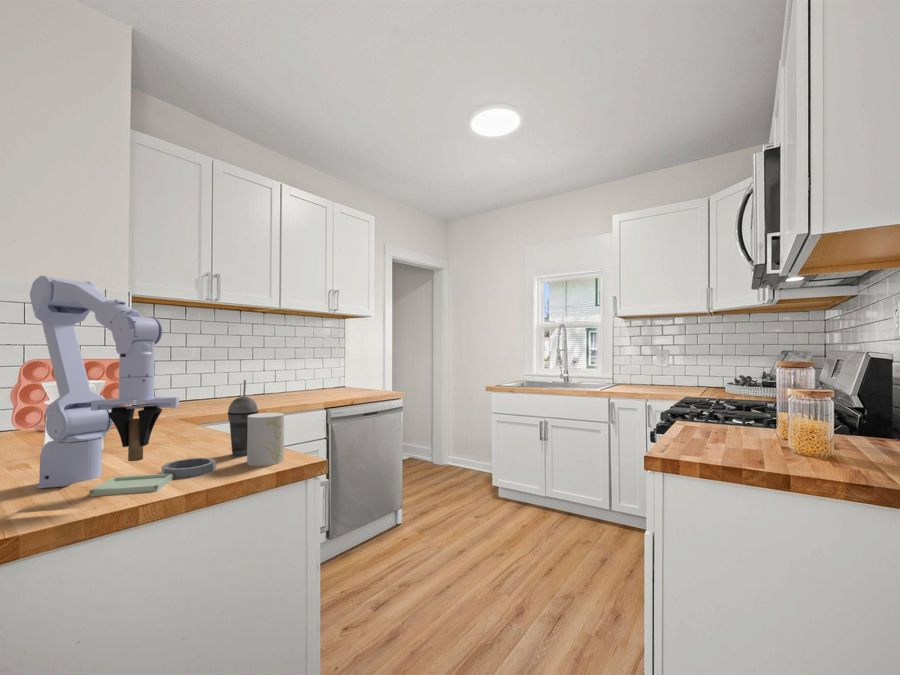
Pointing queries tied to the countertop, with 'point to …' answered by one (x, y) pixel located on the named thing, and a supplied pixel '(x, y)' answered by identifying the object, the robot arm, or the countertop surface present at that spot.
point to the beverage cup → (240, 422)
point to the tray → (132, 484)
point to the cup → (265, 439)
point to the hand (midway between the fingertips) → (135, 445)
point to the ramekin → (189, 467)
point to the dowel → (134, 441)
